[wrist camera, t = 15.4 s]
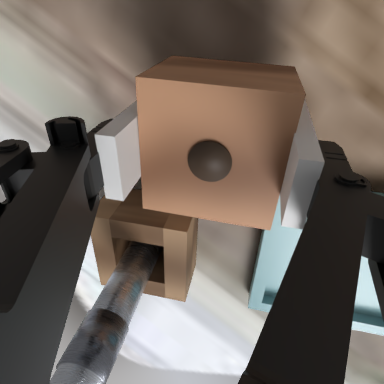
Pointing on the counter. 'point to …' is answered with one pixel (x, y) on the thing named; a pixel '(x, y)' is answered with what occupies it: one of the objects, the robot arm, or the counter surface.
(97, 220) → the block
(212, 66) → the block
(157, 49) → the counter surface
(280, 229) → the tray
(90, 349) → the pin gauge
